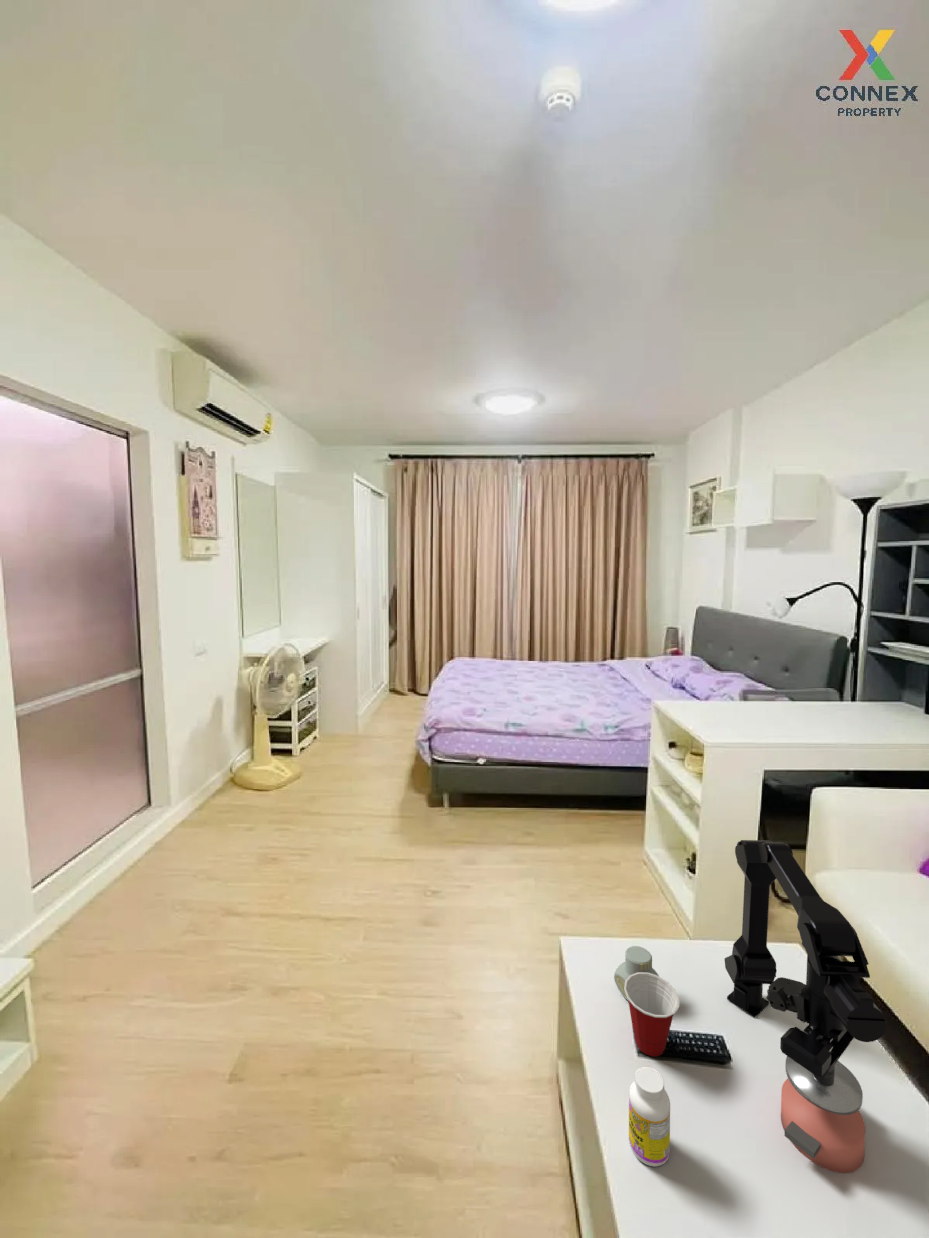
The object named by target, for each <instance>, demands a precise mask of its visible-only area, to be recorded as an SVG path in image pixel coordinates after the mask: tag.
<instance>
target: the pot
mask: <svg viewBox="0 0 929 1238" xmlns="http://www.w3.org/2000/svg"><path fill="white" fill-rule="evenodd" d="M780 1121H781V1122H780V1123H781V1125H782V1129H783V1131H784V1134H783V1135H784V1137H786V1138H787V1139H788V1140H789V1141H790V1142H791V1143H792V1145H793V1146H794V1147H795V1148H796V1150H798V1151H799V1152H800V1153H801V1154H802V1155H803V1156H804V1157H805V1158H807V1159H808V1160H809V1161H810V1162H813V1163H814V1164H816V1165H817V1166H820V1168H823V1169H825V1170H828V1171H832V1172H835V1173H839V1174H849V1173H854V1172H856V1171H858V1170H859V1169H860V1168H861V1167H862V1165H863V1163H864V1159H865V1143H866V1141H865V1139H866V1124H865V1121H864V1117H863V1116H862V1113H861V1112H860V1109H859V1110H858V1111H857V1112H856V1113H853V1114H850V1115H839V1114H834V1113H830V1112H827V1111H825V1110H823V1109H821V1108H818V1107H817V1106H815V1105H813V1104H812V1103H810V1102H809V1101H807V1100H806V1099H805V1098H804V1097H803V1096H801V1095H800V1094H799V1093H798V1092H797V1091H796V1089H795V1088H794V1087H793V1086H792V1084H791V1083H790V1081H789V1079H788V1078H787V1079H785V1081H784V1082H783V1084H782V1087H781V1099H780Z"/></svg>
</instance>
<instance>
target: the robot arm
mask: <svg viewBox="0 0 929 1238" xmlns="http://www.w3.org/2000/svg"><path fill="white" fill-rule="evenodd" d="M734 849H735V850H734V853H735V854H734V855H735V857H736V863H737V865H738V867H739V868H740V870H741V872H742V873H743V875H744V881H743V882H744V886H743V907H742V926H741V927H742V929H741V935H740V936H739V937H738V939H736V940H735V942H734V943H733V946H732V953H731V955H729V956H727V957H724V968H725V970H726V972H727V974H728V976H729V978H730V979H731V981H732V983H733V991H731V993H729V994H728V995H727V996H726V1000H727V1001H729V1002H730V1003H732V1004H733V1005H735V1006H736V1007H737V1008H739V1009H741V1011H744V1012H745V1013H747V1014H748V1015H750V1016H751V1017H753V1018H757V1017H758V1016H759V1015H760V1014H761V1013H762V1012H763V1011H764V1010H765V1009H766V1008H768V1006H770V1007H771V1008H772V1009H773V1010H776V1011H780V1012H783V1013H785V1012H786V1011H788V1012H790V1013H794V1014H795V1013H796V1019H797V1020H799V1021H801V1022H802V1023H803V1024H805V1023H807V1024H808V1025H806V1027H805V1028H804V1029H803V1030H802V1029H800V1028H799V1027H797V1026H793V1027H789V1029H787V1031H786V1032H785V1033H784V1034H783V1035H782V1036H781V1037H780V1041H779V1043H780V1045H779V1046H780V1051H781V1053H782V1054H784V1055H785V1056H786V1057H787V1056H788V1057H790V1058H791V1059H792V1060H794V1061H795V1062H797V1063H798V1064H800V1065H801V1066H803V1067H804V1068H805V1069H807V1070H808V1071H810V1072H811V1073H813V1075H814V1077H815V1078H816V1079H817V1080H819V1081H820V1082H822V1080H823V1079H824V1077H825V1076H826V1075H827V1073H828V1072H829V1070H830V1069H831V1067H832V1066H833V1065H834V1063H836V1062H837V1061H839V1059H840V1058H841V1057H842V1055H843V1054H844V1053H845V1052H846V1050H847V1048H849V1046H850V1044H851V1043H852V1042H853V1040H854V1039H855V1040H857V1041H859V1042H863V1043H872V1042H876V1041H878V1040H879V1039H880V1038H882V1037H883V1036H884V1035H885V1033H886V1031H887V1028H888V1022H887V1020H886V1017H885V1015H884V1013H882V1011H881V1009H879V1008H878V1006H877V1005H876V1004H875V1003H874V998H873V997H872V995H870V993H868V992H867V990H865V988H863V987H862V985H861V983H860V980H861V979H860V978H865V979H870V977H871V975H870V971H869V969H868V965H869V964H870V963H869V961H868V959H867V956H866V954H865V951H864V948H863V946H862V943H861V940H860V939H859V936H858V933H857V931H856V929H855V928H854V926H852V924H851V923H850V922H849V920H848V919H847V918H846V917H845V915H844V914H842V912H841V911H840V910H839V909H838V908H836V907H835V906H833V905H831V904H830V903H828V902H826V901H825V900H824V899H823V898H822V897H821V895H820V894H819V892H818V891H817V890H816V888H815V886H814V885H813V883H812V882H811V880H810V879H809V878H808V876H807V874H806V873H805V872H804V870H803V869H802V867H801V865H800V864H799V862H798V861H797V859H796V857H794V853H793V850H792V848H791V846H790V845H789V844H788V843H785V842H773V841H772V840H767V839H766V840H763V839H762V840H761V839H760V840H759V839H757V840H755V839H741V840H739V841H737V843H736V845H735V848H734ZM775 880H777V882H778V884H779V886H780V887H781V888H782V890H783V892H784V894H785V895H786V897H787V898H788V900H789V903H791V906H792V907H793V908H794V910H795V913H796V914H797V916H798V917H797V923H796V924H797V927H796V929H797V930H798V933H799V935H800V939H801V945H802V946H803V948H804V949H805V952H806V954H807V956H806V976H805V977H806V980H805V981H806V982H805V983H804V982H801V981H798V980H795V979H791V978H787V977H777V962H776V960H775V958H774V957H773V955H772V953H771V952H770V950H769V947H768V927H769V926H768V925H769V908H770V891H771V890H770V888H771V885H772V884H773V883H774V881H775ZM840 957H852V959H853V960H852V961H847V960H846V961H843V960H842V959H841V958H840ZM776 977H777V978H776ZM775 978H776V979H775ZM763 985H768V989H767V990H766V993H767V995H766V999H765V997H763V993H764V992H763V990H764V989H763ZM832 1049H833V1050H834V1052H835V1054H834V1053H832V1052H831V1050H832Z"/></svg>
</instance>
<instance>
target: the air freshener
mask: <svg viewBox="0 0 929 1238" xmlns="http://www.w3.org/2000/svg"><path fill="white" fill-rule="evenodd" d="M624 960H625V961H624V962H622V963H620V964H619V965H618V966H617V968H615V971H614V973H613V979H614V980H613V981H614V983H615V986H616V987H617V989H618V991H619V992H620V995H622V997H624V999H625V1000H627V1001H628V999H627V996H626V993H625V990H624V986H625V981H626V979H627V978H628V977H629V976H630V975H632V974H635V973H638V972H647V973H651V974H654V975H657V976H659V977H660V975H659V974H658V972H657V971H656V970H655V969H654V968H653V956H652V954H651V952H650V951H648V949H647V948H644V947H641V946H639V945H638V946H637V945H633V946H632V945H631V946H629V947H628V948H626V950H625V959H624Z"/></svg>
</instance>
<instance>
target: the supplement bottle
mask: <svg viewBox="0 0 929 1238" xmlns="http://www.w3.org/2000/svg"><path fill="white" fill-rule="evenodd" d="M663 1078H664V1077H663V1076H662V1074H660V1072H659V1071H657V1070H656V1069H655V1068H653V1067H650V1066H642V1067H639V1068H638V1069H637V1070H636V1071H635V1073H634V1081H633V1082H632V1083H631V1085H630V1087H629V1091H628V1141H629V1143H628V1144H629V1147H630V1149H631V1151H632V1153H633V1154H634V1156H635V1157H636V1158H637V1159H638V1160H639V1161H640V1162H642V1163H643V1164H645V1165H646V1166H650V1167H659V1166H662V1165H664V1164H665V1163H666V1162H667V1161H668V1159H669V1157H670V1152H671V1100H670V1096H669V1095H668V1092H667V1090H666V1089H665V1081H664V1079H663Z"/></svg>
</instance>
